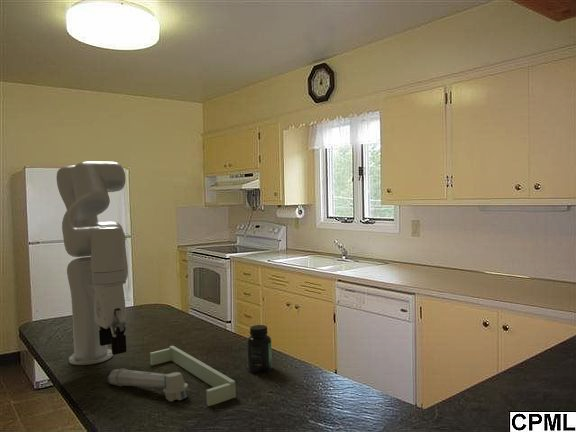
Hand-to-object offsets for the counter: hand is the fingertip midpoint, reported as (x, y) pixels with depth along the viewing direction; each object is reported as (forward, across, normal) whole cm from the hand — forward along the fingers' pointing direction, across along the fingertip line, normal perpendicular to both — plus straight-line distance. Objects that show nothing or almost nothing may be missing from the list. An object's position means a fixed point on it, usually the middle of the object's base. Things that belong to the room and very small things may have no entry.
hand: (112, 348), depth 110 cm
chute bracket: (+13, -1, +20) cm, 24 cm away
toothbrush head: (+13, -1, +8) cm, 16 cm away
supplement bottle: (+13, +6, +38) cm, 41 cm away
